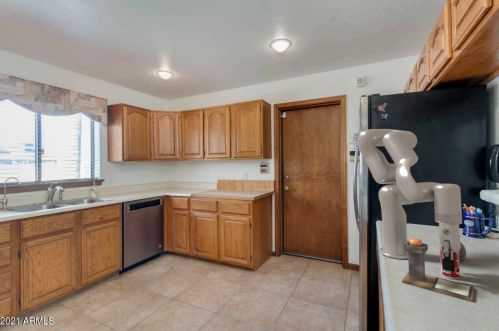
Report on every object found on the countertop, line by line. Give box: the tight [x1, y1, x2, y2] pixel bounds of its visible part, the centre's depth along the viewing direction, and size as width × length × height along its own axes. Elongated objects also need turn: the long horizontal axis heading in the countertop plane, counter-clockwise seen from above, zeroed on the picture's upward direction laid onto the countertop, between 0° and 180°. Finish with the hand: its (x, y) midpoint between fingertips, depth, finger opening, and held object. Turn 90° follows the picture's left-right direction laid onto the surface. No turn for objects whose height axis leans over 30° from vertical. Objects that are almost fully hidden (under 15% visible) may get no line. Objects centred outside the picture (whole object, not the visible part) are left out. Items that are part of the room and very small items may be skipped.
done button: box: [408, 238, 423, 247], centre depth 85 cm, size 4×4×2 cm
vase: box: [459, 241, 467, 262], centre depth 101 cm, size 7×7×9 cm
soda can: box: [439, 247, 461, 280], centre depth 87 cm, size 5×5×12 cm
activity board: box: [401, 240, 475, 303], centre depth 81 cm, size 18×10×13 cm, turn 44°
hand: (450, 266), depth 87 cm, fingers open, 8 cm apart
